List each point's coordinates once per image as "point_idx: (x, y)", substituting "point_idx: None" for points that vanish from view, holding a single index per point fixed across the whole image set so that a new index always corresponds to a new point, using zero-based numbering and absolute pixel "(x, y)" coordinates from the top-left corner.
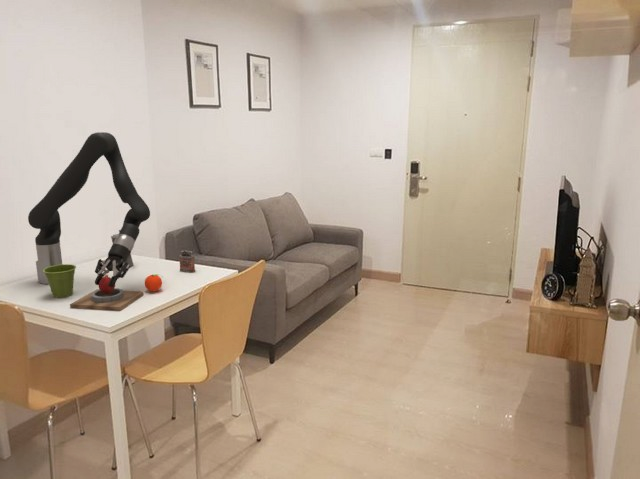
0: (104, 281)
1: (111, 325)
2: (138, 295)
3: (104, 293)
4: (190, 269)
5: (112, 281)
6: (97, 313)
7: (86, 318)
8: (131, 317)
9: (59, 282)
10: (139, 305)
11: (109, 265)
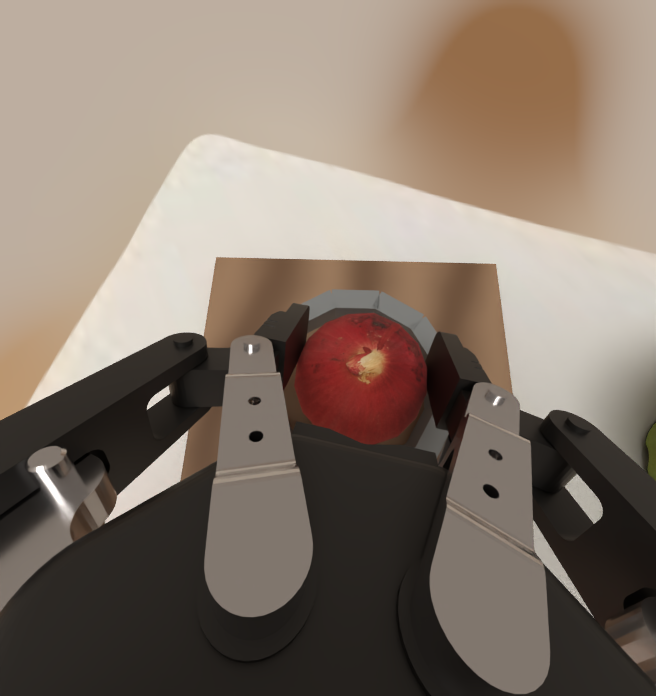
0: (355, 319)
1: (198, 138)
2: (185, 463)
3: (408, 443)
4: None
5: (276, 322)
6: (314, 232)
7: (330, 181)
8: (147, 211)
9: None
10: None
11: (404, 502)
